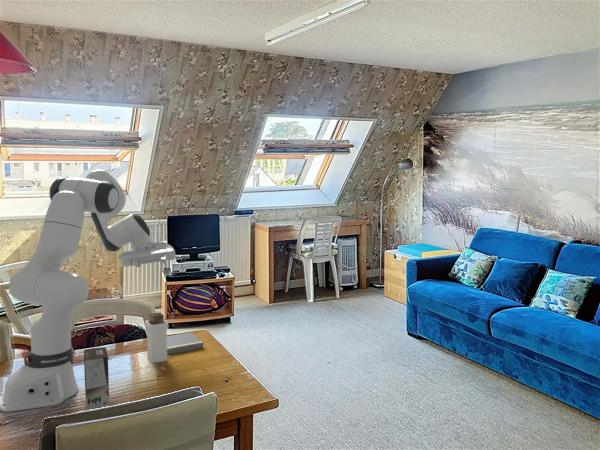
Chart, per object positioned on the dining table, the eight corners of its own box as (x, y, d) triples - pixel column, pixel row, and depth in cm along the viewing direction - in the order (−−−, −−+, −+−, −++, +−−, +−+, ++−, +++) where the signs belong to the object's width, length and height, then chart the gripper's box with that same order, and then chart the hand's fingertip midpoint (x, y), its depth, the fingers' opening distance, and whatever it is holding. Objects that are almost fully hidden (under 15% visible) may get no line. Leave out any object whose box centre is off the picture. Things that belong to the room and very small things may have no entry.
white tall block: (151, 364, 186) (150, 325, 184) (145, 358, 191) (145, 320, 190) (168, 360, 189) (168, 322, 188) (163, 355, 195) (162, 318, 193)
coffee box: (110, 409, 152) (108, 357, 150) (86, 413, 149) (84, 360, 147) (107, 396, 160) (106, 346, 158) (85, 400, 157) (83, 349, 155)
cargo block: (152, 327, 186) (152, 316, 185) (149, 324, 189) (149, 313, 189) (163, 325, 188) (163, 315, 188) (160, 322, 191) (160, 312, 191)
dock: (167, 354, 195) (167, 348, 195) (156, 342, 207) (156, 337, 207) (203, 347, 203) (203, 342, 203) (190, 337, 215) (190, 332, 214)
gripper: (117, 247, 202) (121, 259, 190) (170, 240, 210) (177, 251, 198) (119, 262, 204) (123, 275, 192) (171, 255, 212) (178, 267, 200)
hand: (151, 263), depth 195 cm, fingers open, 8 cm apart
